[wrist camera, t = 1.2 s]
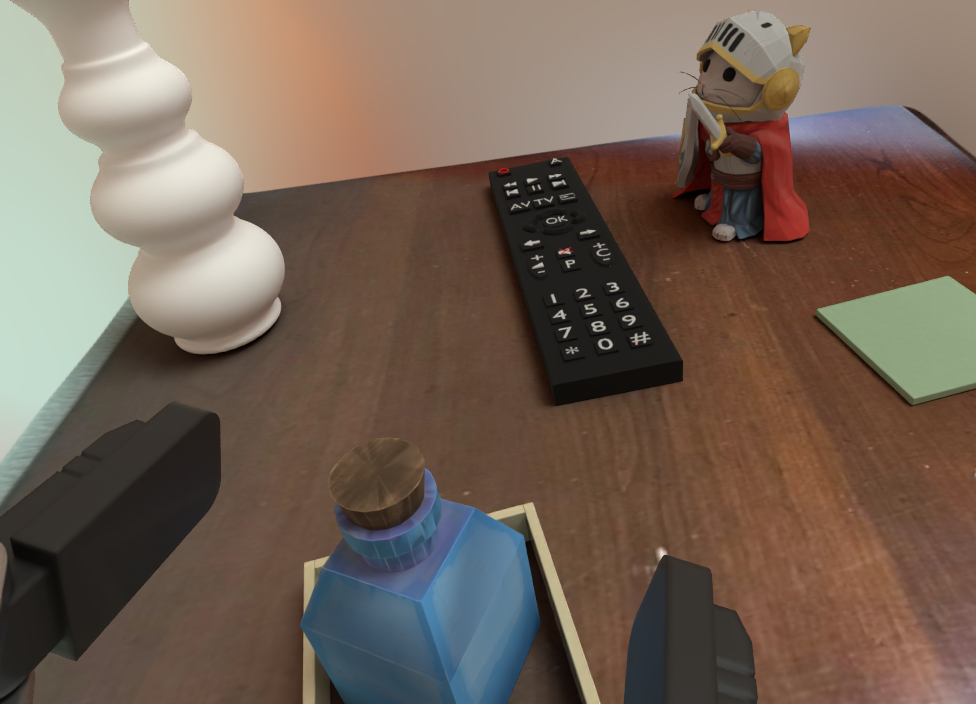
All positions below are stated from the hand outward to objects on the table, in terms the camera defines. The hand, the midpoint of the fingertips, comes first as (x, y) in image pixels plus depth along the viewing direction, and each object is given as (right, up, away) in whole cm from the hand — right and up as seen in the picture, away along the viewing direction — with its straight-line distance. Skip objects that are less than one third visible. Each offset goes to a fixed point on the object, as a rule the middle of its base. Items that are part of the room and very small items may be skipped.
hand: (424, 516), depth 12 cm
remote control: (+7, +10, +42) cm, 44 cm away
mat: (+27, +4, +29) cm, 40 cm away
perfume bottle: (-1, -11, +18) cm, 21 cm away
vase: (-19, +5, +42) cm, 46 cm away
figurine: (+20, +14, +44) cm, 50 cm away
